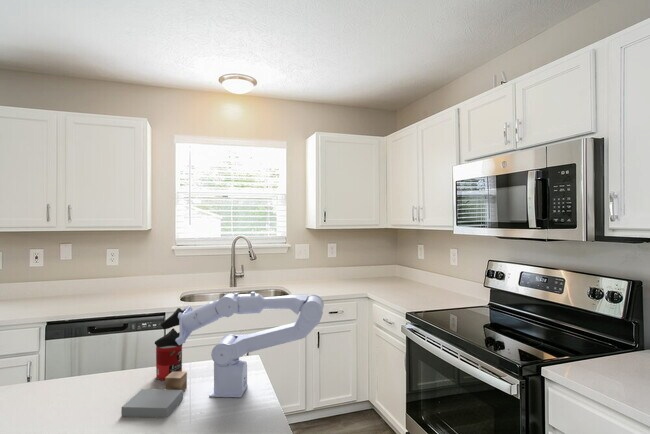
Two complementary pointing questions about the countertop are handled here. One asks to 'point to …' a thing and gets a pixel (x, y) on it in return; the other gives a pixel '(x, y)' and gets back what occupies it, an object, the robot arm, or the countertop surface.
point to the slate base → (152, 403)
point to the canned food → (168, 361)
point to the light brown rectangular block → (176, 381)
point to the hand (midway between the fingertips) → (159, 335)
